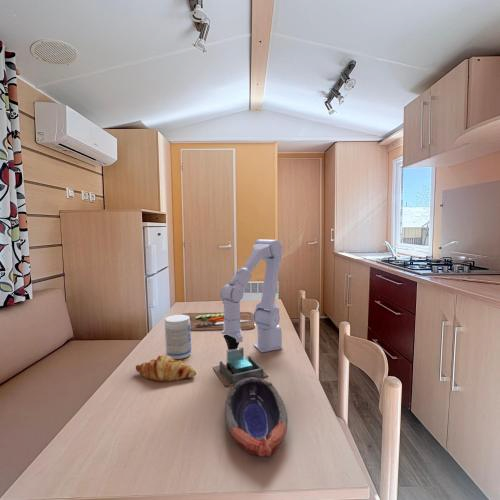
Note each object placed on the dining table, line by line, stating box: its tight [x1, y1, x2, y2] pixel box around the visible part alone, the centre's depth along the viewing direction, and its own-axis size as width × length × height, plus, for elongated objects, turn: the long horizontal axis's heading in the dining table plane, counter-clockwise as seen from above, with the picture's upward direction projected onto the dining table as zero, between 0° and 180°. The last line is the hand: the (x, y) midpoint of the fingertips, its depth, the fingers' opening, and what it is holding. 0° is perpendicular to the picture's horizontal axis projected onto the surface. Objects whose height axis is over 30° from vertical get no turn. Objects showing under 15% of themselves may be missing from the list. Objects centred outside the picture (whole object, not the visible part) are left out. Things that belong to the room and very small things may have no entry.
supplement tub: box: [164, 314, 192, 360], centre depth 118 cm, size 10×10×15 cm
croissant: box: [135, 355, 197, 382], centre depth 102 cm, size 21×10×8 cm, turn 83°
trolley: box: [225, 346, 254, 374], centre depth 103 cm, size 7×9×6 cm
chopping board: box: [180, 311, 256, 332], centre depth 158 cm, size 45×27×3 cm, turn 92°
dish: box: [224, 377, 288, 457], centre depth 78 cm, size 16×31×5 cm, turn 3°
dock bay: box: [212, 355, 269, 387], centre depth 104 cm, size 15×14×3 cm
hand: (232, 354), depth 110 cm, fingers closed
